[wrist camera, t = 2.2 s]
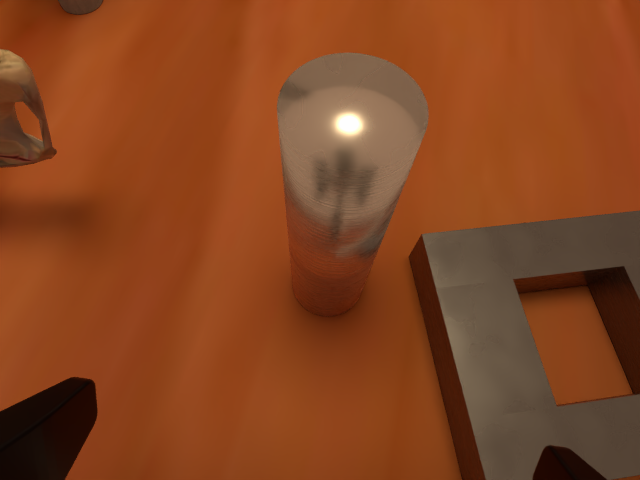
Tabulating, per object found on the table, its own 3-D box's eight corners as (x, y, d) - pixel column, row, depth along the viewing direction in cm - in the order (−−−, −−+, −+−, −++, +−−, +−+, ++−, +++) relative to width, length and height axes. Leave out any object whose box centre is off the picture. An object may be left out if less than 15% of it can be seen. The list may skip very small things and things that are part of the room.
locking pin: (368, 311, 23) (445, 162, 10) (296, 320, 23) (284, 177, 10) (355, 246, 25) (409, 48, 12) (288, 253, 24) (271, 58, 12)
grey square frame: (735, 446, 21) (800, 448, 18) (465, 490, 19) (491, 499, 17) (629, 231, 26) (667, 207, 23) (408, 256, 24) (421, 234, 22)
